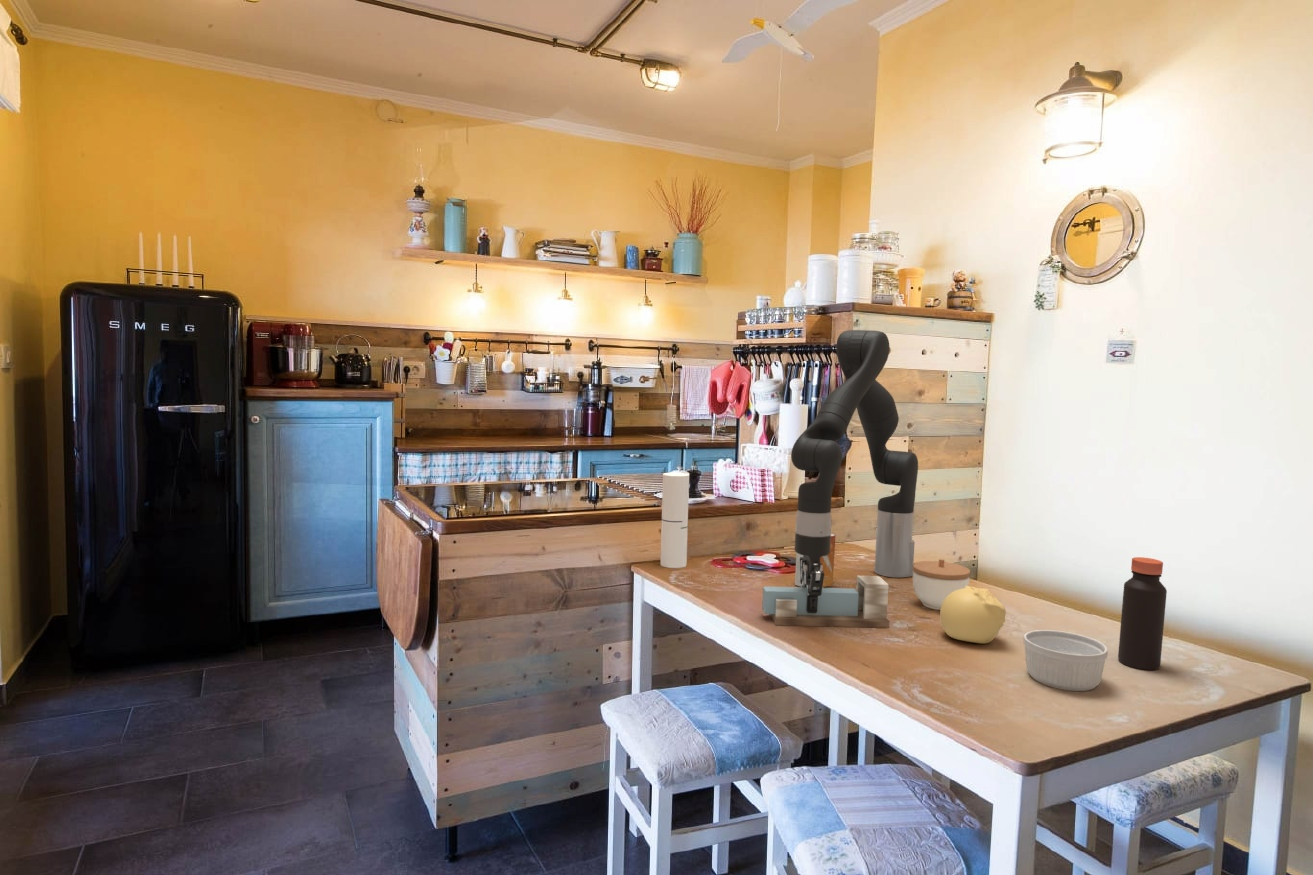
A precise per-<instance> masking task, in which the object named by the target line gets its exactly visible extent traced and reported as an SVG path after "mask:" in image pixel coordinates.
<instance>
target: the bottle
mask: <svg viewBox="0 0 1313 875" xmlns="http://www.w3.org/2000/svg"><path fill="white" fill-rule="evenodd" d="M1163 566H1164V562H1163V561H1161V560H1159V559H1155V558H1150V557H1144V556H1143V557H1139V556H1138V557H1136V556H1135V557H1132V558H1131V568H1130V570H1131V571H1130V573H1132V577H1131V578H1129V579H1128V580H1127V581H1125V582H1124V584H1123V591H1122V592H1123V593H1122V602H1121V603H1122V605H1121V616H1120V617H1121V618H1120V630H1119V639H1118V640H1119V642H1118V653H1117V658H1118V659H1117V660H1118V661H1119V662H1120V663H1121V664H1123V665H1125V666H1128V667H1130V668H1134V669H1138V670H1145V671H1155V670H1158V669H1159V668H1161V661H1162V650H1163V649H1162V648H1163V639H1164V638H1163V637H1164V627H1165V615H1166V607H1167V606H1166V604H1167V603H1166V602H1167V593H1168V592H1167V588H1166V586H1165V585H1164V584H1163V583H1162V582H1161V580H1160V578H1161V577H1162V575H1163Z"/></svg>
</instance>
